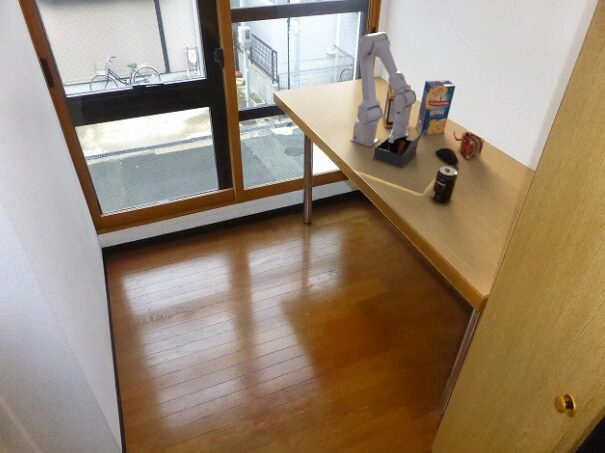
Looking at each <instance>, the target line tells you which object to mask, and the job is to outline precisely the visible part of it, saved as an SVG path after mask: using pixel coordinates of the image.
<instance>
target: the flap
mask: <svg viewBox="0 0 605 453" xmlns="http://www.w3.org/2000/svg"><path fill="white" fill-rule="evenodd" d="M425 131H426V130H425ZM425 131H423V132H422V133H421V134H419V135H417V137H415V138H414V139H413V140H412V142H411V143H410V144H409V146H408V147H407V149H406V150H405V152H404V153H403V155H404V154H405V153H406V152H407V151H408V150H409V149H411V148H412V147H413V146H414V145H415V144H416V143H417V142H418V143H419V141H420V140H421V139H422V137H423V135H425V134H424V132H425Z"/></svg>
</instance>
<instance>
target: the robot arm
mask: <svg viewBox="0 0 605 453" xmlns="http://www.w3.org/2000/svg"><path fill="white" fill-rule="evenodd" d="M358 46H359V55H358V57H359V58H358V59H359V69H360V70H359V72H360V83H361V95H362V100H361V101H360V103H359V105H358V106H357V109H358V110H357V113H356V116H357V117H356V118H357V120H355V122H354V125H353V131H352V139H351V142H355V143H358V144H362V145H364V146H367V147H372V146H373V145H374V144H376V143H377V142H379V138H376V136H377V130H378V123H379V122H380V120H381V119H382V118H383V116H384V111H383V108H382V106H381V102H380V101H379V99H377V95H376V94H377V93H376V79H375V78H376V77H375V66H374V65H375V64H374V59H375V58H379V60H380V61H381V63H382V66H384V69H385V70H386V73H387V74H388V75H389V76H388V79H387V81H388V84H390V86H391V88H392V90H393V92H394V95H395V98H394V103H395V116H394V122H393V128H391V130H390V134H389V136H390V137H389V136H388V137H387V138H388V142H389V145H390V152H393V153H397V150H398V147H399V145H400V144H401V142H402V141H405V140H406V139H408V137H409V135H410V133H409V132H408V131H409V128H410V126H409V123H408V122H410V118H409V117H411V111H412V107H411V106H413V105H414V104H415V103H416V101H417V95H416V92H415V90H413V89H412V88H411V89H410V88H409V87H408V85H409V84H408V83H407V80H406V77H405V75H404V73H403V72H401V71H399V70H398V68H397V65H396V63H395V60H394V56H393V54H392V51H391V49H390V46H391V41H390V40H389V37H388V34H387V33H386V32H384V31H380V32H376V33H370V34H364V35H363V36H361V39H360V40H359V41H358ZM398 139H399V140H398ZM400 140H402V141H400Z"/></svg>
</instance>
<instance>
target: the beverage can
mask: <svg viewBox="0 0 605 453" xmlns="http://www.w3.org/2000/svg"><path fill="white" fill-rule="evenodd" d="M457 180H458V174H457V169H455V168H453V167H450V166H442V167H440V168H439V170H438V171H437V172H436V175H435V179H434V183H433V186H432V191H431V195H430V198H431V199H432V200H433V202H435V203H437V204H447V203H449V202H451V199H452V196H453V194H454V190H455V187H456V183H457Z"/></svg>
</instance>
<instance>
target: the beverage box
mask: <svg viewBox="0 0 605 453" xmlns="http://www.w3.org/2000/svg"><path fill="white" fill-rule="evenodd" d="M455 90H456V85H455V84H454V83H452V81H451V80H425V81H424V86H423V92H422V96H421V100H420V106H419V110H418V114H417V115H418V116H417V121H416V126H415V129H416V130H417V131H418V133H420V134H421V133H422V132H423V131H425V130H426V131H425V132H424V134H423V135H438V134H444V133H445V131H446V126H447V121H448V117H449V113H450V110H451V105H452V101H453V97H454V94H455ZM420 134H419V135H420Z"/></svg>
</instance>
